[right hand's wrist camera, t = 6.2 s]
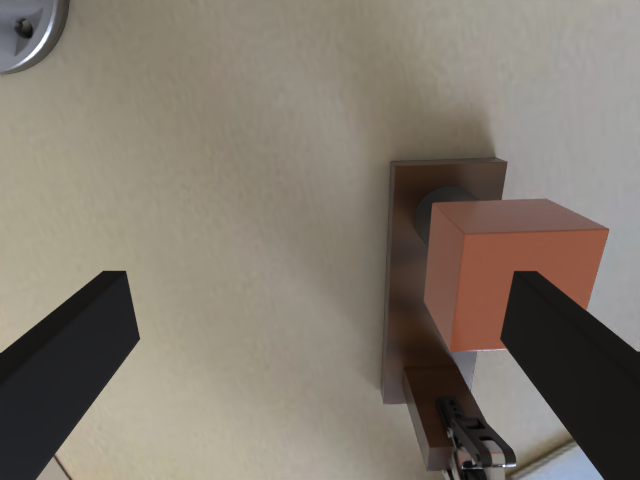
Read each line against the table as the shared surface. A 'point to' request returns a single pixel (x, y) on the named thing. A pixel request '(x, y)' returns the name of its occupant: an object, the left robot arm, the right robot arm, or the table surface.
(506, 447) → the left robot arm
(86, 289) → the right robot arm
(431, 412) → the walnut stand
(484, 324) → the terracotta cap
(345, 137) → the table surface
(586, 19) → the table surface
